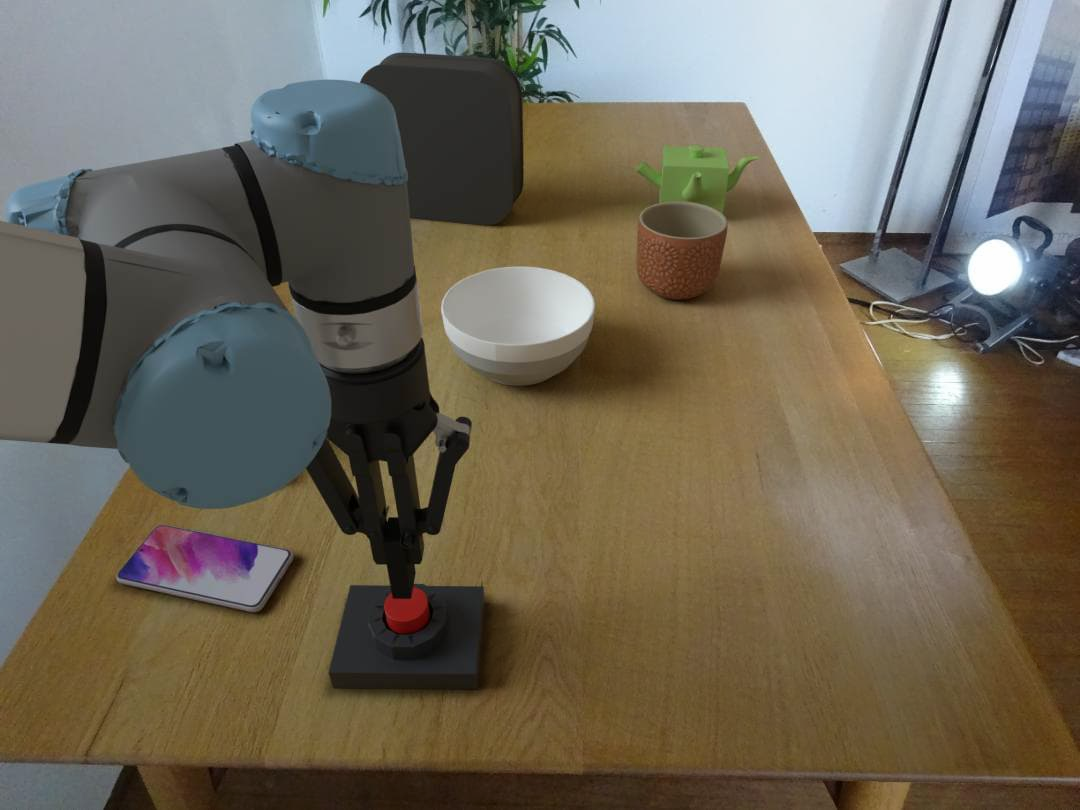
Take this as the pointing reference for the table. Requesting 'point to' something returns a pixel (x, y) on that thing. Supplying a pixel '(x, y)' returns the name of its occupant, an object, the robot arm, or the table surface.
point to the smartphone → (206, 567)
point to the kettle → (695, 175)
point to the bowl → (518, 323)
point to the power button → (407, 612)
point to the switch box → (410, 641)
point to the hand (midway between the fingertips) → (404, 585)
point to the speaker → (456, 133)
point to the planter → (680, 248)
